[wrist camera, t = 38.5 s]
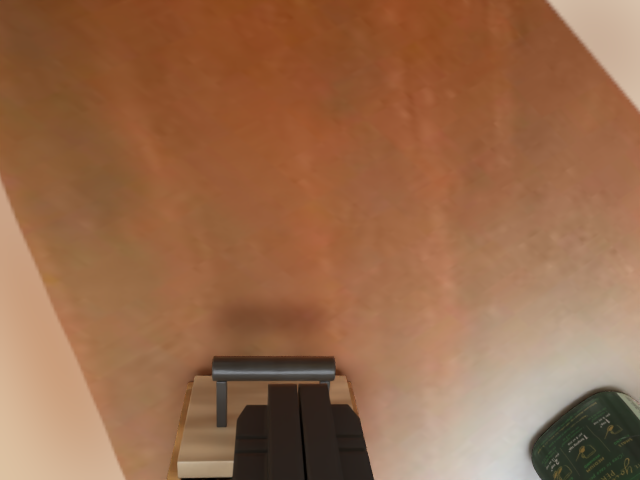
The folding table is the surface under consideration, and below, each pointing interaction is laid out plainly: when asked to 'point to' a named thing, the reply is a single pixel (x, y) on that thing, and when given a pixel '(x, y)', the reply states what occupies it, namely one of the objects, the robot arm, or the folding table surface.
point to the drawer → (241, 405)
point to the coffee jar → (592, 441)
